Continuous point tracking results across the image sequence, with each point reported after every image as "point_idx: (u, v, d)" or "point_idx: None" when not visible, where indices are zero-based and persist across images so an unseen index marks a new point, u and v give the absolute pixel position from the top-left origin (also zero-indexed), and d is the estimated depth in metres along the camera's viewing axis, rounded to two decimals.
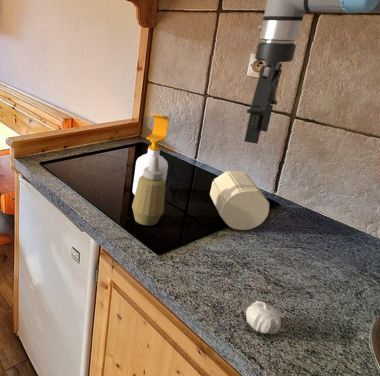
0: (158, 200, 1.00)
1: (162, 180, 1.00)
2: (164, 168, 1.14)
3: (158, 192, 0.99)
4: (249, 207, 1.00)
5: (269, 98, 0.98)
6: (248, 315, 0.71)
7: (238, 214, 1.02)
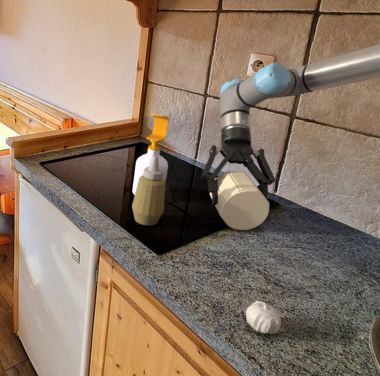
0: (158, 200, 1.00)
1: (162, 180, 1.00)
2: (164, 168, 1.14)
3: (158, 192, 0.99)
4: (249, 207, 1.00)
5: (258, 178, 1.08)
6: (248, 315, 0.71)
7: (238, 214, 1.02)
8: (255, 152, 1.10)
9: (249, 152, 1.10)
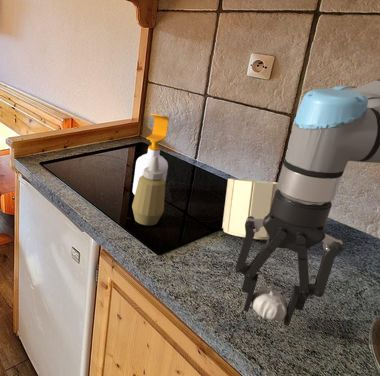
0: (158, 200, 1.00)
1: (162, 180, 1.00)
2: (164, 168, 1.14)
3: (158, 192, 0.99)
4: None
5: None
6: (254, 301, 0.70)
7: None
8: (326, 242, 0.61)
9: (312, 240, 0.62)
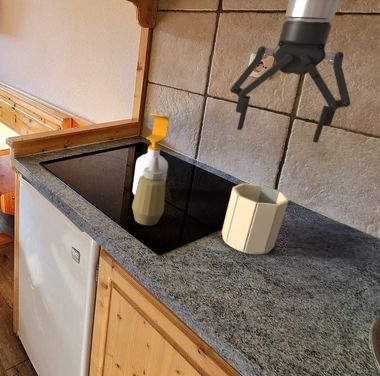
0: (158, 200, 1.00)
1: (162, 180, 1.00)
2: (164, 168, 1.14)
3: (158, 192, 0.99)
4: None
5: None
6: None
7: None
8: (329, 57, 0.72)
9: (316, 60, 0.73)
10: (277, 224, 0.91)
